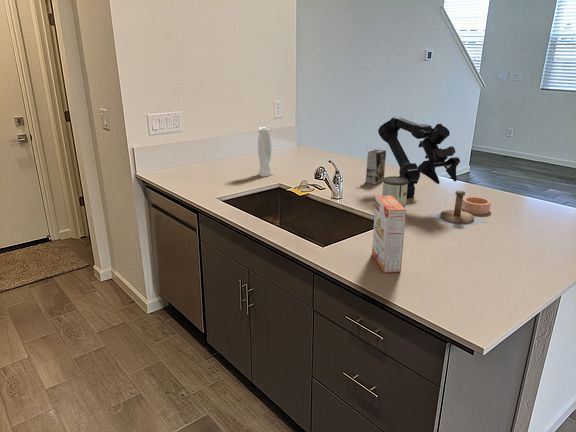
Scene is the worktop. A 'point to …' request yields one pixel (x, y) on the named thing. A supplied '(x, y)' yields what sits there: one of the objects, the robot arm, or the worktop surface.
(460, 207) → the lid
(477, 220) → the mat
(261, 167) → the skyscraper
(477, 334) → the worktop surface
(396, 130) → the robot arm
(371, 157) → the coffee box
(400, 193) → the coffee can
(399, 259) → the cracker box
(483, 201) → the bowl
